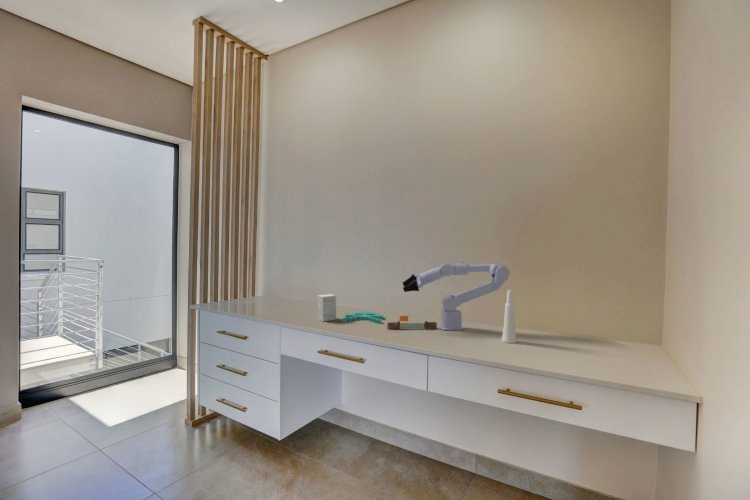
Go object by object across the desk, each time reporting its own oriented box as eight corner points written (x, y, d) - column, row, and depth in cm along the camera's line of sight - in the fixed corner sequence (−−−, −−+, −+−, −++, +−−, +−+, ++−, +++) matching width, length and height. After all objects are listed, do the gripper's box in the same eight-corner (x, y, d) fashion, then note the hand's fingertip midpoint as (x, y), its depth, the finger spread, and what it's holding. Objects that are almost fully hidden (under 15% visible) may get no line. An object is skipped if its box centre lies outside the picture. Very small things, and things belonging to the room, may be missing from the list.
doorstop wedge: (406, 322, 182) (406, 314, 182) (409, 326, 174) (409, 317, 174) (398, 322, 182) (398, 314, 182) (400, 326, 174) (400, 317, 174)
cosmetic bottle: (513, 344, 146) (514, 291, 146) (499, 341, 150) (500, 290, 150) (518, 341, 151) (520, 290, 150) (504, 338, 155) (506, 288, 154)
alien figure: (381, 324, 179) (384, 315, 198) (381, 320, 178) (384, 312, 198) (342, 323, 181) (349, 314, 200) (342, 318, 180) (349, 310, 200)
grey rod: (424, 327, 170) (424, 322, 170) (425, 328, 169) (425, 323, 169) (400, 327, 169) (400, 322, 169) (400, 328, 168) (400, 323, 168)
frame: (435, 327, 171) (436, 320, 171) (436, 329, 169) (437, 321, 169) (387, 328, 169) (387, 321, 169) (387, 329, 167) (387, 322, 167)
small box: (330, 317, 191) (330, 293, 190) (336, 319, 186) (336, 295, 185) (316, 319, 186) (317, 295, 185) (322, 321, 181) (322, 296, 180)
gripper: (424, 265, 178) (399, 275, 179) (427, 274, 163) (400, 285, 165) (429, 277, 179) (405, 287, 181) (433, 287, 165) (406, 298, 167)
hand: (403, 287), depth 173 cm, fingers open, 7 cm apart
